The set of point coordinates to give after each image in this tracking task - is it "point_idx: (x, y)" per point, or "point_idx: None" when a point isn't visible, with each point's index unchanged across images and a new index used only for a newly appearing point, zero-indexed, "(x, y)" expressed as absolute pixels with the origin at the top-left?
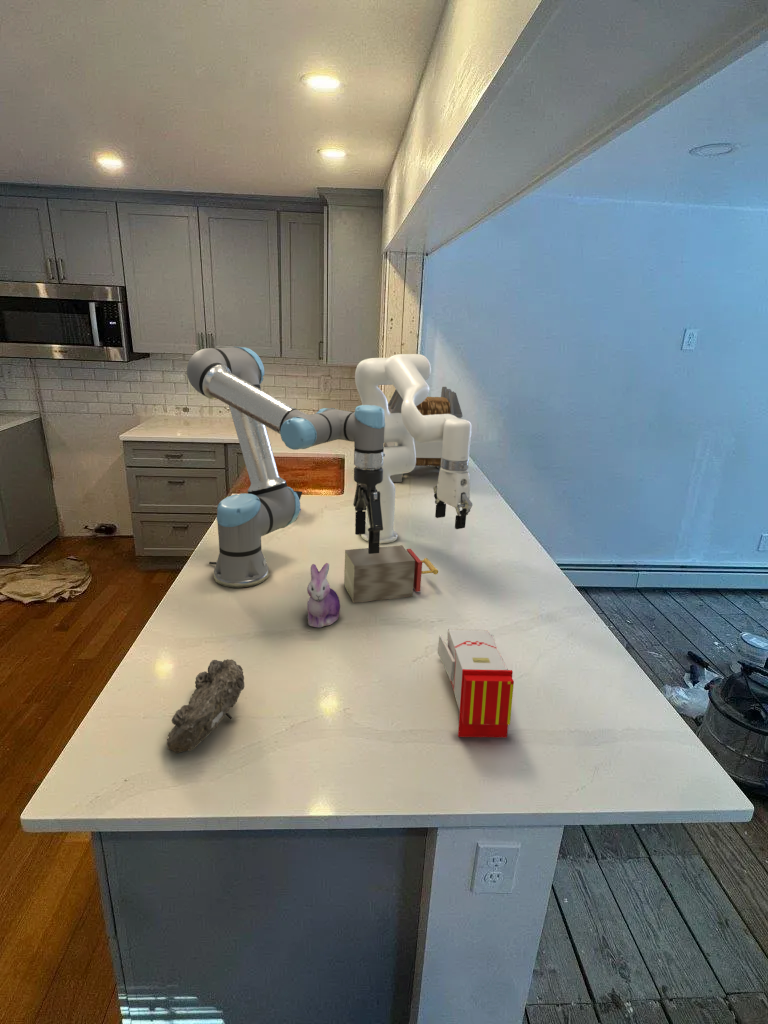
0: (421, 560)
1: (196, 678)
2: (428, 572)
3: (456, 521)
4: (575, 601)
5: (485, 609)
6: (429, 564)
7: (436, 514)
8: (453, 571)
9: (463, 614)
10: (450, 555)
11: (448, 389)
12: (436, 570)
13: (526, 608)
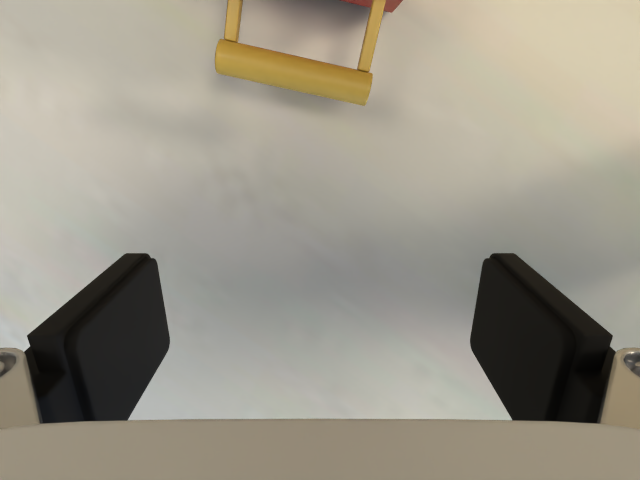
0: (368, 56)
1: None
2: (228, 10)
3: (81, 291)
4: None
5: (53, 170)
6: (292, 62)
7: (510, 270)
8: (364, 245)
9: (32, 64)
10: None
11: None
12: (216, 59)
13: (34, 299)
